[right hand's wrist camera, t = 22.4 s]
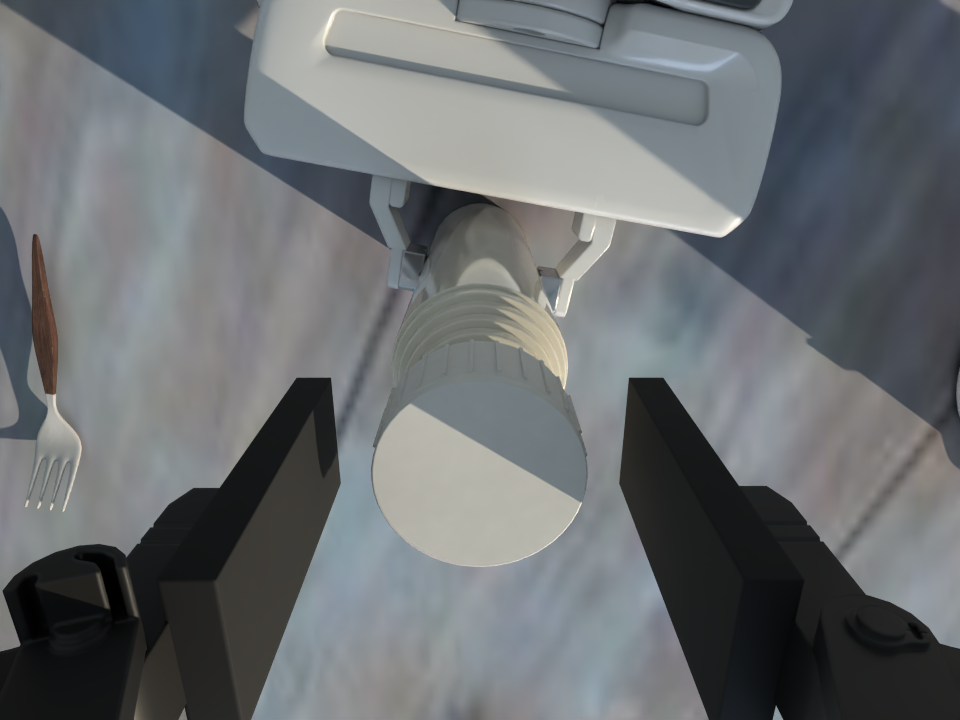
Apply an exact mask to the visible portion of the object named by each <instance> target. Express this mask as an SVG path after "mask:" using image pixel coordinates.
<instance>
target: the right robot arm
mask: <svg viewBox="0 0 960 720" xmlns="http://www.w3.org/2000/svg"><path fill="white" fill-rule="evenodd" d="M340 484H341V482H340V471H339V460H338V450H337V439H336V428H335V417H334V406H333V395H332V385H331V378H296V380H295V381H294V383H293V384H292V385H291V387H290V388H289V390H288V391H287V393H286V394H285V395H284V397H283V398H282V400H281V401H280V403H279V404H278V405H277V407H276V408H275V410H274V411H273V413H272V414H271V415H270V417H269V418H268V420H267V421H266V423H265V424H264V425H263V427H262V428H261V430H260V431H259V433H258V434H257V435H256V437H255V438H254V440H253V441H252V443H251V444H250V445H249V447H248V448H247V450H246V451H245V453H244V454H243V455H242V457H241V458H240V460H239V461H238V463H237V464H236V465H235V467H234V468H233V470H232V471H231V473H230V474H229V475H228V477H227V478H226V480H225V481H224V483H223V484H222V485H221V487H220V488H193V489H191V490H190V491H188V492H187V493H185V494H184V495H182V496H181V497H179V498H178V499H176V500H175V501H173V502H172V503H170V504H169V505H168V506H167V508H166V509H165V510H164V511H163V513H162V514H161V515H160V516H159V518H158V519H157V520H156V521H155V523H154V526H153V528H150V529H149V530H148V531H147V533H146V534H145V535H144V536H143V538H142V539H141V543H140V544H137V545H136V546H135V548H134V549H133V550H132V551H131V553H130V554H129V555H128V556H127V558H126V556H125V554H124V553H122V552H121V551H120V550H119V549H117V548H116V547H112V546H107V545H102V544H95V545H83V546H76V547H73V548H69V549H65V550H62V551H58V552H55V553H53V554H51V555H48V556H46V557H44V558H42V559H40V560H38V561H36V562H34V563H32V564H31V565H29V566H28V567H26V568H25V569H24V570H22V571H21V572H19V573H18V574H17V575H15V576H14V577H13V578H12V580H11V581H10V582H9V583H8V585H7V586H6V587H5V588H4V590H3V594H4V597H5V600H6V603H7V605H8V608H9V611H10V614H11V617H12V620H13V623H14V626H15V629H16V632H17V635H18V638H19V641H20V644H21V645H20V647H16V648H13V649H9V650H5V651H1V652H0V720H178V719H179V717H180V715H181V713H182V711H183V709H184V707H185V711H186V715H187V720H251V718H252V716H253V713H254V710H255V708H256V705H257V702H258V700H259V697H260V695H261V692H262V689H263V687H264V684H265V681H266V679H267V676H268V673H269V671H270V668H271V666H272V663H273V660H274V658H275V655H276V652H277V650H278V647H279V645H280V642H281V639H282V637H283V634H284V631H285V629H286V626H287V623H288V621H289V618H290V616H291V613H292V610H293V608H294V605H295V602H296V600H297V597H298V594H299V592H300V589H301V587H302V584H303V581H304V579H305V576H306V573H307V571H308V568H309V565H310V563H311V560H312V558H313V555H314V552H315V550H316V547H317V544H318V542H319V539H320V536H321V534H322V531H323V529H324V526H325V523H326V521H327V518H328V515H329V513H330V510H331V507H332V505H333V502H334V500H335V497H336V494H337V492H338V489H339V486H340ZM619 484H620V486H621V489H622V492H623V494H624V497H625V500H626V502H627V505H628V507H629V510H630V513H631V515H632V518H633V521H634V523H635V526H636V529H637V531H638V534H639V536H640V539H641V542H642V544H643V547H644V550H645V552H646V555H647V558H648V560H649V563H650V565H651V568H652V571H653V573H654V576H655V579H656V581H657V584H658V587H659V589H660V592H661V594H662V597H663V600H664V602H665V605H666V608H667V610H668V613H669V616H670V618H671V621H672V623H673V626H674V629H675V631H676V634H677V637H678V639H679V642H680V645H681V647H682V650H683V652H684V655H685V658H686V660H687V663H688V666H689V668H690V671H691V673H692V676H693V679H694V681H695V684H696V687H697V689H698V692H699V695H700V697H701V700H702V702H703V705H704V708H705V710H706V713H707V716H708V718H709V720H773V715H774V711H775V707H776V706H777V708H778V710H779V712H780V714H781V716H782V718H783V720H960V649H958V648H954V647H950V646H946V645H943V644H940V643H939V642H938V641H937V639H936V638H935V636H934V635H933V633H932V632H931V630H930V629H929V628H928V627H927V626H926V625H925V624H923V623H922V622H921V621H920V620H918V619H917V618H916V617H915V616H914V615H912V614H911V613H909V612H907V611H905V610H904V609H902V608H900V607H898V606H896V605H894V604H892V603H890V602H887V601H884V600H881V599H878V598H875V597H871V596H868V595H866V594H865V593H864V592H863V591H862V589H861V588H860V587H859V586H858V584H857V583H856V582H855V581H854V579H853V578H852V577H851V576H850V574H849V573H848V572H847V571H846V570H845V568H844V567H843V566H842V565H841V563H840V562H839V561H838V560H837V558H836V557H835V556H834V555H833V553H832V552H831V551H830V550H829V548H828V547H827V546H826V545H825V543H824V542H820V537H819V536H818V535H817V534H816V532H815V531H814V530H813V529H812V527H811V526H810V525H807V521H806V520H805V519H804V517H803V516H802V515H801V514H800V512H799V511H798V510H797V509H796V508H795V506H794V505H793V504H792V503H791V502H790V501H788V500H787V499H785V498H784V497H782V496H781V495H779V494H778V493H776V492H775V491H773V490H772V489H770V488H769V487H767V486H739V485H738V484H737V483H736V481H735V480H734V478H733V477H732V475H731V474H730V473H729V471H728V470H727V468H726V467H725V465H724V464H723V463H722V461H721V460H720V458H719V457H718V455H717V454H716V453H715V451H714V450H713V448H712V447H711V445H710V444H709V443H708V441H707V440H706V438H705V437H704V435H703V434H702V433H701V431H700V430H699V428H698V427H697V425H696V424H695V423H694V421H693V420H692V418H691V417H690V415H689V414H688V413H687V411H686V410H685V408H684V407H683V405H682V404H681V403H680V401H679V400H678V398H677V397H676V395H675V394H674V393H673V391H672V390H671V388H670V387H669V385H668V384H667V383H666V381H665V380H664V378H629V385H628V395H627V406H626V417H625V428H624V439H623V450H622V460H621V471H620V482H619Z"/></svg>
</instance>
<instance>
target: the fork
mask: <svg viewBox="0 0 960 720" xmlns="http://www.w3.org/2000/svg"><path fill="white" fill-rule="evenodd" d="M32 333H33V341H34V347H35V352H36V356H37V361H38V365H39V369H40V373H41V377H42V381H43V386H44V390H45V394H46V399H47V405H48V412H47V415H46V418H45V420H44V422H43V423H42V425H41V427H40V429H39V432H38V435H37V440H36V448H35V459H34V466H33V471H32V476H31V481H30V485H29V490H28V494H27V499H26V502H25V505H24V506H25V507H26V506H27V505H28V502H29V499H30V496H31V493H32V490H33V487H34V484H35V481H36V478H37V475H38V471H39V468H40V465H41V462H42V460H43V459H45V460H46V469H45V474H44V479H43V484H42V489H41V493H40V498H39V502H38V506H37V508H39V507H40V504H41V502H42V499H43V496H44V493H45V490H46V487H47V484H48V480H49V477H50V474H51V470H52V467H53V464H54V462H55V461H58V472H57V477H56V482H55V487H54V492H53V496H52V501H51V505H50V510H51V509H52V507H53V504H54V501H55V498H56V495H57V492H58V489H59V486H60V483H61V480H62V476H63V473H64V470H65V467H66V464H67V463H68V462H70V464H71V468H70V475H69V480H68V485H67V490H66V495H65V500H64V504H63V508H62V511H64V510H65V507H66V504H67V501H68V498H69V495H70V492H71V488H72V485H73V482H74V479H75V475H76V471H77V468H78V464H79V460H80V456H81V449H82V447H81V441H80V439H79V437H78V435H77V433H76V432H75V431H74V430H73V428H72V427H71V426H70V425H69V424H68V423H67V422H66V421H65V420H64V419H63V418H62V416H61V415H60V414H59V412H58V410H57V407H56V382H57V364H58V338H57V330H56V324H55V319H54V314H53V310H52V305H51V300H50V295H49V290H48V284H47V278H46V272H45V266H44V260H43V255H42V250H41V245H40V241H39V238H38V235H36V234H34V235H33V242H32Z"/></svg>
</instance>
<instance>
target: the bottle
mask: <svg viewBox="0 0 960 720" xmlns="http://www.w3.org/2000/svg"><path fill="white" fill-rule="evenodd" d="M471 339H474V341H490V342H495V340H496V341H499V343H503V344H507V345H509V346H513V347H516V348H518V349H519V347H521V348H523V351H525V352H527V353H528V354H530V355H532V356H534V357H535V358H537V359H538V360H539V361H540V360H541V359H542V360H543V361H544V364H545V366H547V367H548V368H549V370H550V371H551V372H552V373H553V374H554V375H555V376H556V377H557V376H559V377H560V380H561V383H562V386H563V389H564V390H565V385H566V379H567V372H568V359H567V351H566V347H565V343H564V340H563V337H562V334H561V332H560V329H559V326H558V324H557V321H556V318H555V316H554V313H553V310H552V308H551V305H550V302H549V300H548V297H547V294H546V292H545V289H544V286H543V283H542V281H541V278H540V275H539V273H538V270H537V267H536V265H535V262H534V259H533V257H532V254H531V251H530V249H529V246H528V243H527V241H526V238H525V235H524V233H523V230H522V228H521V227H520V225H519V224H518V222H517V221H516V220H515V219H514V218H513V217H512V216H511V215H510V214H509V213H508V212H506V211H505V210H503V209H501V208H499V207H497V206H494V205H490V204H483V203H476V204H469V205H466V206H463V207H461V208H458V209H457V210H455V211H453V212H452V213H451V214H449V215H448V216H447V217H446V218H445V219H444V220H443V222H442V223H441V224H440V226H439V228H438V229H437V231H436V234H435V237H434V239H433V242H432V245H431V247H430V250H429V253H428V255H427V258H426V261H425V263H424V266H423V269H422V271H421V274H420V277H419V279H418V282H417V285H416V287H415V290H414V293H413V295H412V298H411V301H410V303H409V306H408V309H407V311H406V314H405V317H404V319H403V322H402V325H401V327H400V330H399V333H398V335H397V338H396V341H395V343H394V348H393V352H392V361H391V369H392V378H393V384H394V388H396V386H397V385H398V383H399V382H400V380H401V379H402V377H403V375H404V372H405V370H406V369H408V370H409V369H410V368H411V367H413V366H414V365H415V364H416V363H417V362H418V361H420V360H421V359H422V358H423V355H425V354H427V355H429V354H430V353H432V352H434V351H437V350H439V349H441V348H443V347H445V345H446V344H449V345H453V344H457V343H462V342H470V340H471Z"/></svg>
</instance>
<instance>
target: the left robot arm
mask: <svg viewBox="0 0 960 720" xmlns="http://www.w3.org/2000/svg"><path fill="white" fill-rule="evenodd" d="M256 2H257V4H258V6H259V8H260V10H259V14H258V19H257V24H256V28H255V33H254V39H253V44H252V50H251V55H250V62H249V70H248V77H247V85H246V95H245V105H244V123H245V126H246V129H247V131H248V132H249V134H250V135H251V137H252V139H253V140H254V142H255V143H256V145H257V146H258V148H259V149H260V151H261V152H262V153H264V154H266V155H270V156H275V157H280V158H286V159H291V160H297V161H302V162H307V163H313V164H318V165H324V166H329V167H335V168H340V169H346V170H351V171H357V172H362V173H368V174H372V182H371V191H370V200H369V204H370V206H371V208H372V211H373V213H374V215H375V218H376V220H377V222H378V225H379V227H380V230H381V232H382V234H383V237H384V239H385V241H386V244H387V246H388V248H391V253H390V261H389V269H388V277H387V287H390V288H395V289H402V290H409V291H414V290H415V287H416V285H417V282H418V279H419V277H420V274H421V271H422V269H423V266H424V263H425V261H426V258H427V253H428V247H427V246H422V245H417V244H412V243H411V242H410V239H409V236H408V234H407V231H406V229H405V226H404V223H403V221H402V218H401V215H400V213H399V210H398V208H401V207H402V206H403V205H404V204H405V203H406V202H407V201H408V200H409V194H410V187H411V182H417V183H422V184H428V185H433V186H439V187H444V188H450V189H455V190H460V191H466V192H471V193H477V194H482V195H488V196H493V197H499V198H504V199H510V200H515V201H521V202H526V203H532V204H537V205H542V206H548V207H553V208H559V209H564V210H570V211H575V215H574V220H573V224H572V231H573V232H574V233H575V235H576V236H577V237H578V238H579V241H578V242H577V243H576V244H575V245H574V246H573V248H572V249H571V250H570V251H569V252H568V253H567V254H566V256H565V257H564V258H563V259H562V260H561V261H560V262H559V264H558V265H557V266H556V267H555V269H554V268H547V267H541V266H537V270H538V273H539V275H540V278H541V281H542V283H543V286H544V289H545V292H546V294H547V297H548V300H549V302H550V305H551V308H552V310H553V313H554V316H558V317H565V315H566V312H567V309H568V305H569V301H570V296H571V292H572V288H573V284H574V280H575V281H577V280H578V279H579V278H580V277H581V276H582V275H583V274H584V273H585V272H586V271H587V270H588V269H589V268H590V267H591V266H592V265H593V264H594V263H595V261H596V260H597V259H598V258H599V257H600V256H601V255H602V254H603V253H604V252H605V251H606V250H607V249H608V248H609V247H610V243H611V239H612V235H613V232H614V228H615V224H616V220H617V219H619V220H624V221H630V222H635V223H641V224H646V225H652V226H657V227H663V228H668V229H674V230H679V231H685V232H690V233H695V234H701V235H707V236H712V237H723V236H725V235H727V234H728V233H730V232H731V231H732V230H734V229H735V228H736V227H737V226H738V225H739V224H741V223H742V222H743V221H744V220H745V219H746V218H747V217H748V216H749V214H750V212H751V210H752V208H753V206H754V203H755V200H756V197H757V194H758V191H759V188H760V185H761V181H762V178H763V174H764V171H765V167H766V163H767V159H768V155H769V151H770V147H771V143H772V138H773V134H774V129H775V124H776V119H777V114H778V109H779V103H780V97H781V87H782V72H781V65H780V60H779V57H778V54H777V52H776V50H775V48H774V46H773V45H772V44H771V42H770V41H769V40H768V39H767V38H766V37H765V36H764V35H763V34H761V33H760V32H758V31H761V30H763V29H765V28H768V27H770V26H771V25H773V24H775V23H777V22H779V21H780V20H782V19H783V18H784V17H785V16H786V14H787V13H788V11H789V9H790V7H791V5H792V3H793V0H256ZM956 397H957V408H958V413H959V417H960V369H959V373H958V379H957V390H956Z"/></svg>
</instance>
